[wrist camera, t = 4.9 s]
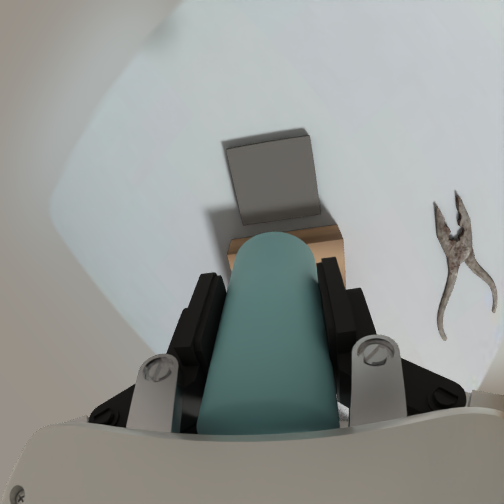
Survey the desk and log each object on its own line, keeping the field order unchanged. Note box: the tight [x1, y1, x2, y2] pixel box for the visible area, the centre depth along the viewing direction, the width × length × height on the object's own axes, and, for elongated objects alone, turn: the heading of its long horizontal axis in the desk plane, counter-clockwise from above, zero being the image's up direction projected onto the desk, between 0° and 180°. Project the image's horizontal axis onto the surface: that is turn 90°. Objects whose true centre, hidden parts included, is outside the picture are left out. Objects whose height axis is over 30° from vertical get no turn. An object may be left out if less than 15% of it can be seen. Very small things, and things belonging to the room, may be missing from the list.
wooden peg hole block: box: [227, 225, 346, 290], centre depth 32 cm, size 18×10×3 cm, turn 11°
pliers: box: [435, 195, 497, 341], centre depth 30 cm, size 10×1×20 cm
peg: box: [197, 232, 340, 435], centre depth 10 cm, size 4×4×8 cm
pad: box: [226, 135, 321, 225], centre depth 26 cm, size 7×7×1 cm
